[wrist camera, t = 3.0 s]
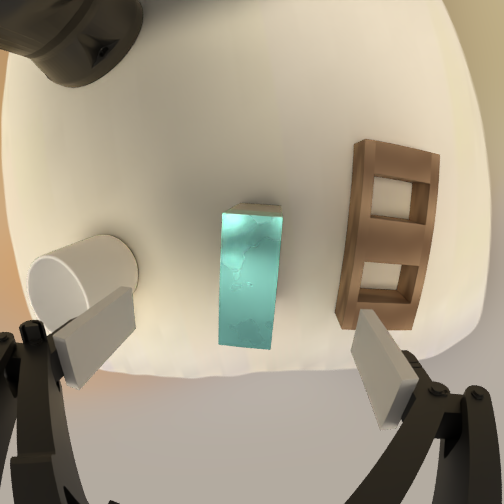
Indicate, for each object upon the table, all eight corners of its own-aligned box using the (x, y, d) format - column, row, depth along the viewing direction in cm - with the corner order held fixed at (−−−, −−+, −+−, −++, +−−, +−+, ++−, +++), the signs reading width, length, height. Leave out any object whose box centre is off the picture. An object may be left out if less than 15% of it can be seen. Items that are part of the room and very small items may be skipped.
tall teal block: (272, 299, 31) (270, 349, 21) (235, 296, 31) (218, 344, 22) (280, 205, 29) (282, 217, 19) (240, 202, 29) (222, 213, 19)
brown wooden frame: (398, 314, 30) (411, 330, 26) (334, 312, 31) (341, 329, 27) (421, 157, 26) (439, 154, 22) (354, 144, 27) (365, 138, 23)
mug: (104, 327, 34) (58, 370, 24) (76, 240, 32) (16, 263, 21) (158, 323, 33) (118, 373, 23) (129, 226, 31) (71, 246, 20)
